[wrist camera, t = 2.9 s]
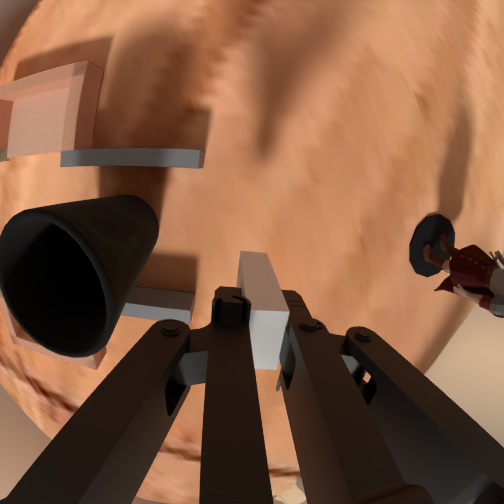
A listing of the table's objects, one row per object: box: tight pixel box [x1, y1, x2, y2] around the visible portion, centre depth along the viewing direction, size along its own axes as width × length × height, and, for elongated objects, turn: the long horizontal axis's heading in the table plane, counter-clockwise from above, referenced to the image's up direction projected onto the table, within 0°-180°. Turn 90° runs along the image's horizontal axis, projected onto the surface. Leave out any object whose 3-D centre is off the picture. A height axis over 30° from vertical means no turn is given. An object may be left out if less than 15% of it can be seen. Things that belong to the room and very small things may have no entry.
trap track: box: [0, 60, 205, 370], centre depth 18 cm, size 33×28×4 cm
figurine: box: [409, 214, 504, 318], centre depth 17 cm, size 7×7×15 cm
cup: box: [0, 195, 159, 358], centre depth 15 cm, size 8×8×12 cm
